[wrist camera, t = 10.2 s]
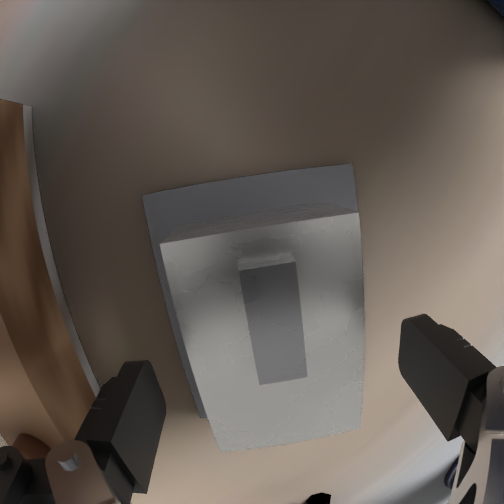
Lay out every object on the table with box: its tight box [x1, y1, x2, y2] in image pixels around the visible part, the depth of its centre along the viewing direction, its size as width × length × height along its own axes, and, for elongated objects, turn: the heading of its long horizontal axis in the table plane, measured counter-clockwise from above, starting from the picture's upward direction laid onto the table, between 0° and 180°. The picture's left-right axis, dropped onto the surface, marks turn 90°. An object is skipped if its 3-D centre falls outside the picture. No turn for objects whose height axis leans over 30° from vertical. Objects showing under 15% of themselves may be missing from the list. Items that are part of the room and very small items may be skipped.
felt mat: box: [142, 163, 358, 418], centre depth 14 cm, size 12×9×1 cm
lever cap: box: [160, 201, 364, 452], centre depth 12 cm, size 9×6×5 cm, turn 9°
